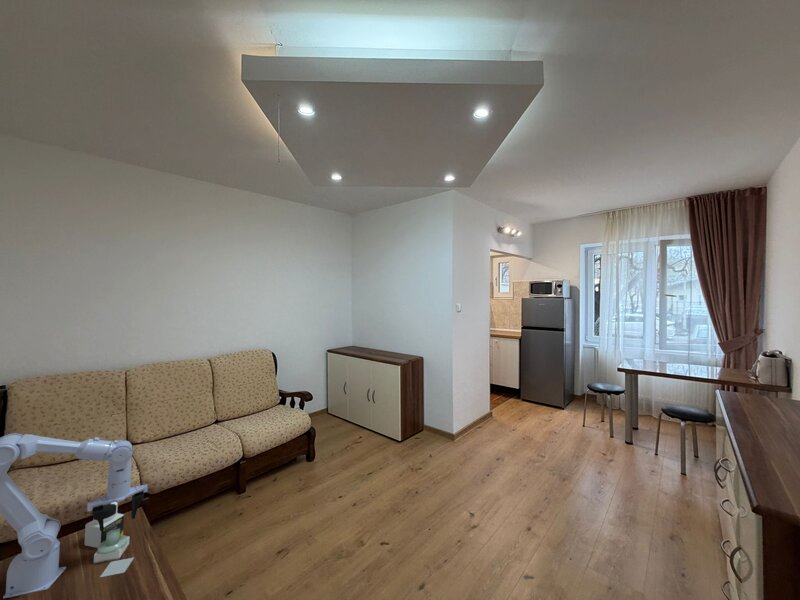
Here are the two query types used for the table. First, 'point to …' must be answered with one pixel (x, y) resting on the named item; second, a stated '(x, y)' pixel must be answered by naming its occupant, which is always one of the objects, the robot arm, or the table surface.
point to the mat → (117, 567)
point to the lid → (112, 542)
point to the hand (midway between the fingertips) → (117, 522)
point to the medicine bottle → (110, 523)
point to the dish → (110, 554)
